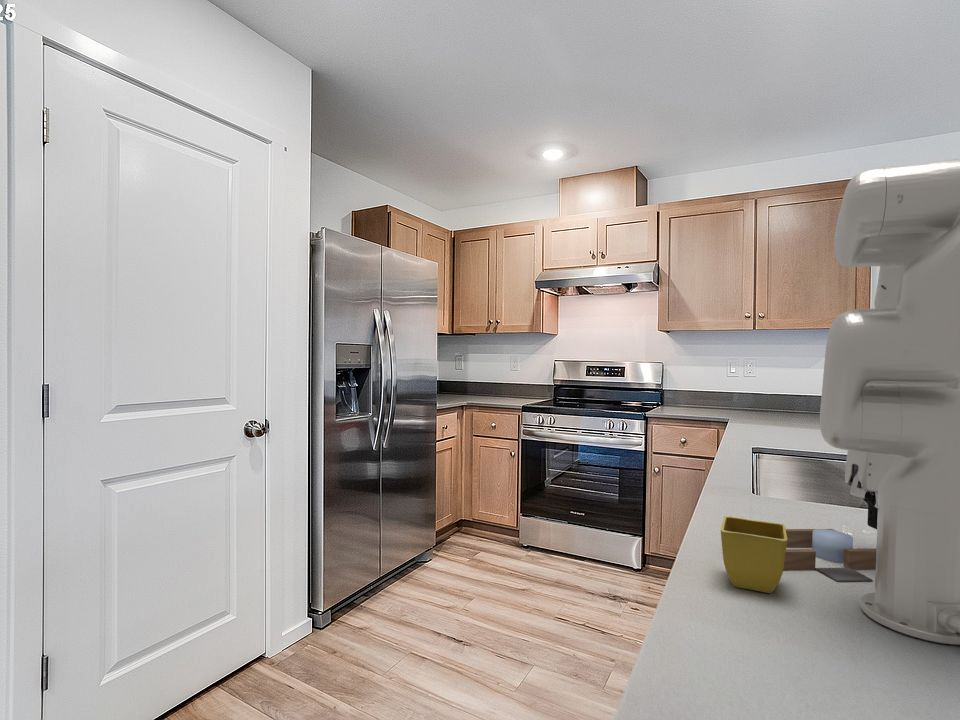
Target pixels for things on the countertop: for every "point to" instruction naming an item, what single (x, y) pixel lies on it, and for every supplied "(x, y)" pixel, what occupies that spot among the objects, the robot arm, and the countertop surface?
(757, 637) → the countertop surface
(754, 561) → the flower pot
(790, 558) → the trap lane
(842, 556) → the pale blue rounded cube
